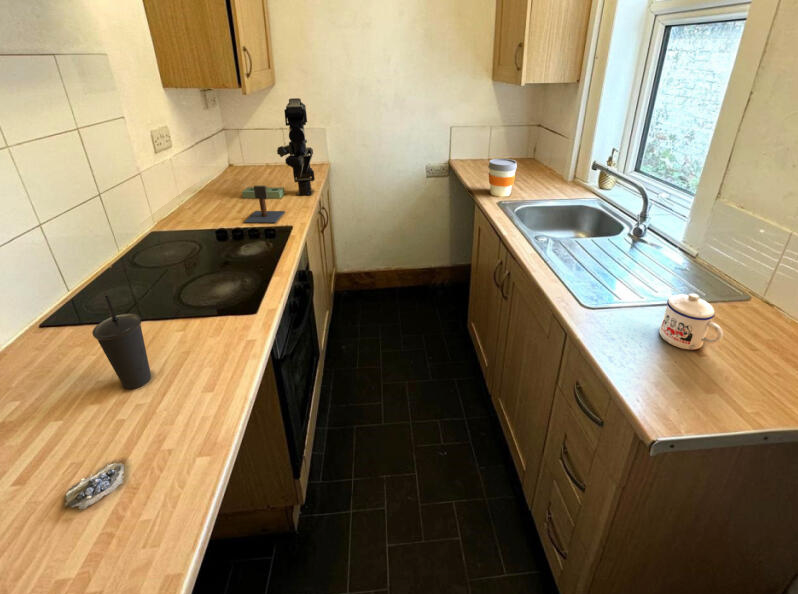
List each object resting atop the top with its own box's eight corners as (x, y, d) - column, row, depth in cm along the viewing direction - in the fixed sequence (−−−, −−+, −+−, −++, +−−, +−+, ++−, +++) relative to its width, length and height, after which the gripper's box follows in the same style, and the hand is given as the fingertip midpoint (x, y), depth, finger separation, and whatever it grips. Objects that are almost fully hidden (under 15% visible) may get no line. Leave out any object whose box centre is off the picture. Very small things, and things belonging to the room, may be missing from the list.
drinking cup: (110, 400, 79) (74, 312, 71) (118, 374, 85) (86, 290, 77) (156, 388, 82) (127, 302, 74) (161, 363, 88) (134, 282, 80)
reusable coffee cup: (519, 194, 192) (523, 162, 186) (500, 199, 186) (503, 166, 180) (500, 187, 202) (502, 157, 195) (481, 192, 195) (483, 160, 189)
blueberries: (54, 506, 61) (49, 498, 60) (102, 458, 68) (98, 450, 67) (92, 516, 59) (88, 508, 58) (137, 466, 66) (134, 458, 66)
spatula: (260, 215, 166) (255, 185, 161) (271, 215, 166) (266, 185, 161) (258, 217, 164) (253, 186, 159) (269, 217, 164) (264, 186, 159)
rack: (248, 193, 194) (247, 187, 192) (284, 193, 193) (284, 187, 192) (242, 198, 187) (241, 191, 186) (280, 198, 187) (279, 192, 186)
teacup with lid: (649, 333, 98) (662, 291, 93) (672, 322, 102) (685, 280, 97) (703, 364, 88) (720, 318, 83) (725, 349, 92) (742, 305, 88)
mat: (255, 212, 171) (255, 210, 171) (284, 212, 171) (284, 211, 171) (244, 223, 160) (243, 221, 160) (275, 223, 160) (274, 221, 160)
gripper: (285, 133, 176) (290, 169, 183) (269, 143, 159) (275, 182, 166) (311, 134, 176) (315, 170, 182) (298, 143, 159) (303, 182, 165)
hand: (302, 176), depth 174 cm, fingers open, 9 cm apart
